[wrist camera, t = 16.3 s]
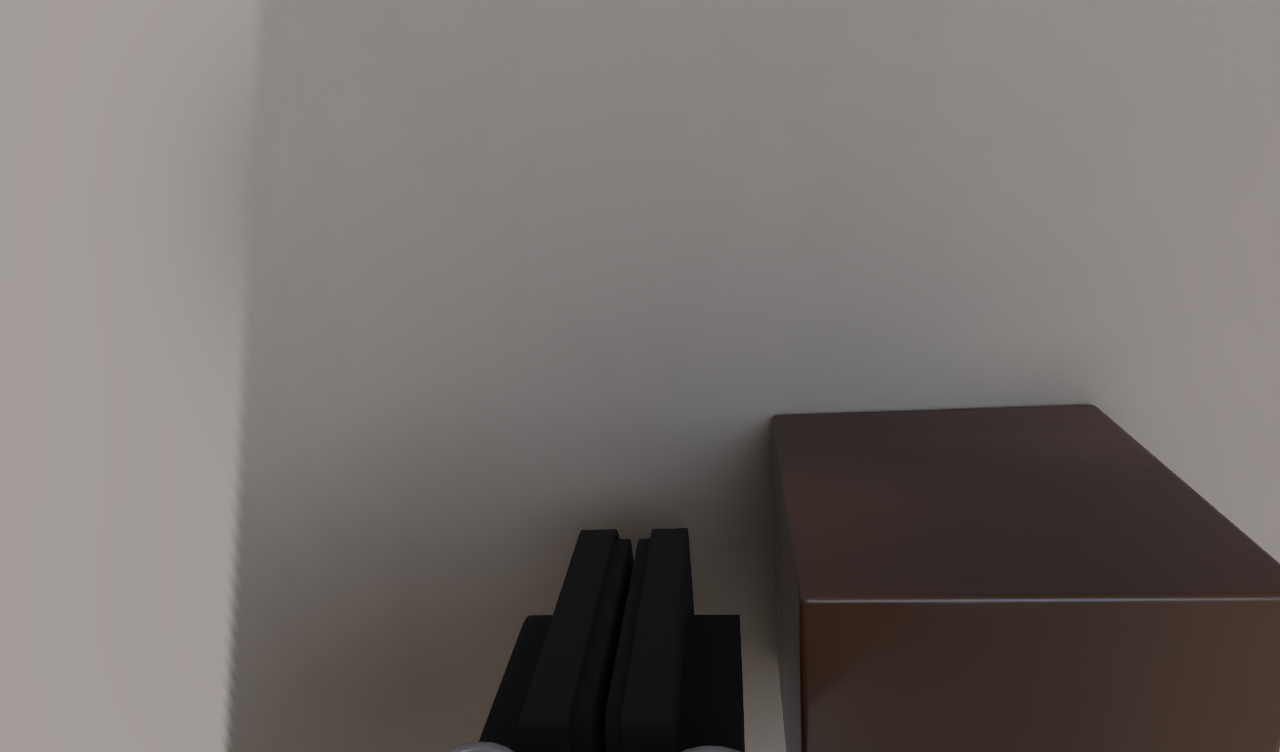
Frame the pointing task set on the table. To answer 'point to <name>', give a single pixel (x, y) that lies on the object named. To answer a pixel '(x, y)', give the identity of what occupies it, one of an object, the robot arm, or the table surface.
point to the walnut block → (1012, 590)
